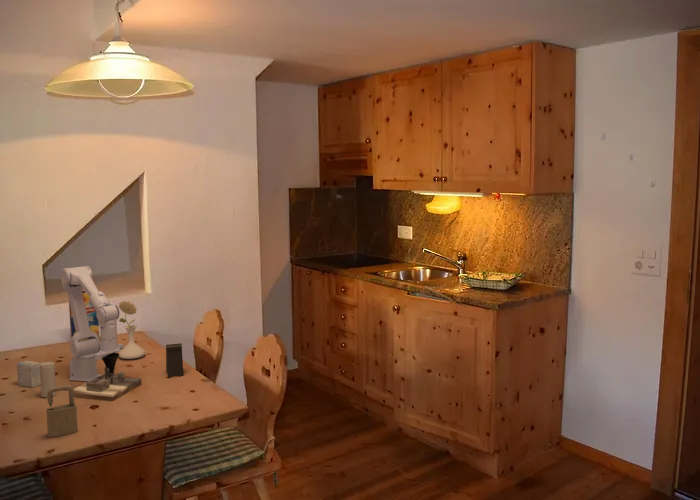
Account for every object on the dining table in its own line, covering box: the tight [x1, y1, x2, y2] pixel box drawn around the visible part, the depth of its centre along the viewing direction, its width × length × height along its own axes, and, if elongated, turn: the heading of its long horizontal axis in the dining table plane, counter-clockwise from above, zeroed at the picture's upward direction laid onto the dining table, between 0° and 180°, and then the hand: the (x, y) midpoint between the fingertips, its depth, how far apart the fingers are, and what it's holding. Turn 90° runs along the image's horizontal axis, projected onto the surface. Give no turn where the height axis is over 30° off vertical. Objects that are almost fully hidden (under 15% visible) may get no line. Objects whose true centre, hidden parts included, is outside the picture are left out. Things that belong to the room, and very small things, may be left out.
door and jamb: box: [73, 371, 142, 402], centre depth 224 cm, size 18×17×5 cm
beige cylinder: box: [40, 361, 57, 399], centre depth 218 cm, size 5×5×12 cm
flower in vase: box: [118, 300, 146, 360], centre depth 264 cm, size 13×11×25 cm
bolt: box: [95, 366, 112, 384], centre depth 221 cm, size 8×2×6 cm, turn 166°
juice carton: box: [68, 290, 100, 341], centre depth 289 cm, size 12×8×24 cm, turn 120°
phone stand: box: [165, 343, 184, 378], centre depth 243 cm, size 9×6×12 cm, turn 21°
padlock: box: [46, 384, 79, 438], centre depth 186 cm, size 4×8×15 cm, turn 123°
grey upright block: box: [16, 360, 42, 389], centre depth 229 cm, size 8×4×9 cm, turn 65°
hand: (110, 372), depth 226 cm, fingers closed
